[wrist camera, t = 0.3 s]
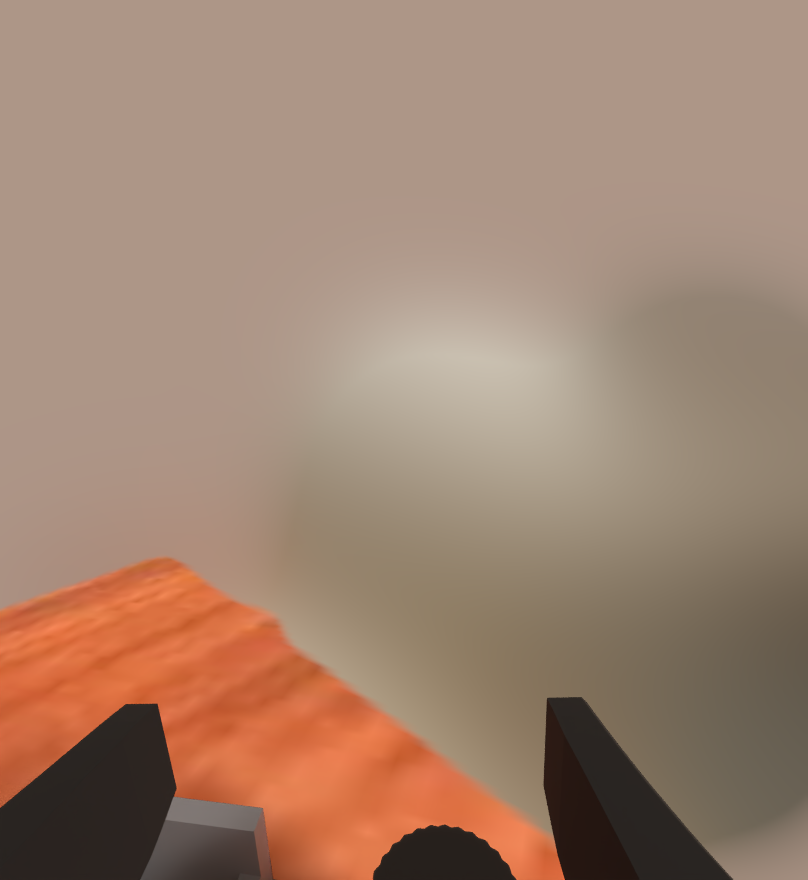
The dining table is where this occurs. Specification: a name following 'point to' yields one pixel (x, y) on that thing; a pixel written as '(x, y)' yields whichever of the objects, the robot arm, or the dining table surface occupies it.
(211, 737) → the dining table surface
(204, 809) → the lane tray
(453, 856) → the supplement bottle
